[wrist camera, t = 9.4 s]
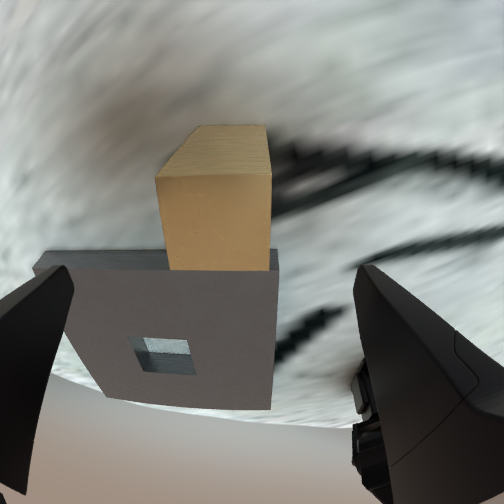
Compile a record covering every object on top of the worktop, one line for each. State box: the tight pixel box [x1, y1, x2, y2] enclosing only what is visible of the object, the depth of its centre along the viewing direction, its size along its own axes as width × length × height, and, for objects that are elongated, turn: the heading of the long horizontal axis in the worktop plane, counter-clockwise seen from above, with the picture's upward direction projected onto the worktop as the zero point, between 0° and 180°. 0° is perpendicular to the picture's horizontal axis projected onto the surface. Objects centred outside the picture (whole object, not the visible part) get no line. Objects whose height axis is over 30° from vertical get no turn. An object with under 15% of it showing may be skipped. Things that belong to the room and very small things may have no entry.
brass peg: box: [155, 125, 272, 271], centre depth 15 cm, size 4×4×9 cm
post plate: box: [32, 249, 279, 410], centre depth 27 cm, size 20×20×2 cm
